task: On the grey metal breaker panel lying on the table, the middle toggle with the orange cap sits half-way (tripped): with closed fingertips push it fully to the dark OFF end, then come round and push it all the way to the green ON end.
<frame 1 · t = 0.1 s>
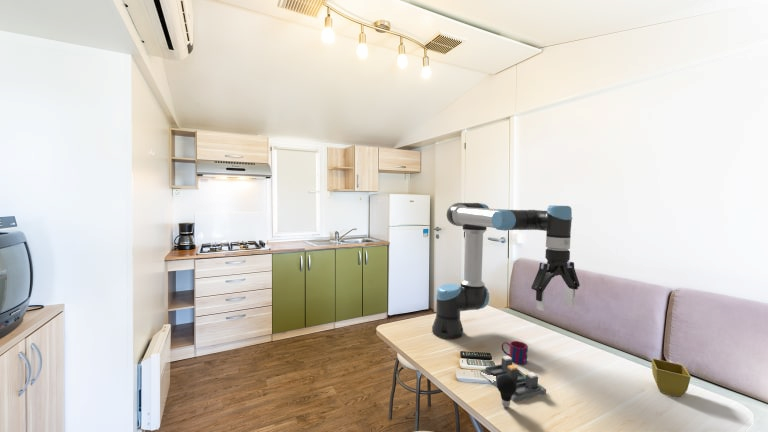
hand: (555, 308, 110), 28 cm above the table, fingers open, 13 cm apart
breaker 1: (506, 363, 117), point 4 cm above the table, slide at 6.0 cm
flower pot: (668, 392, 108), on the table
light bulb: (505, 407, 98), on the table
mug: (514, 359, 128), on the table
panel: (511, 383, 111), on the table
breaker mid: (512, 372, 111), point 4 cm above the table, slide at 3.0 cm
breaker 2: (531, 380, 106), point 4 cm above the table, slide at 6.0 cm
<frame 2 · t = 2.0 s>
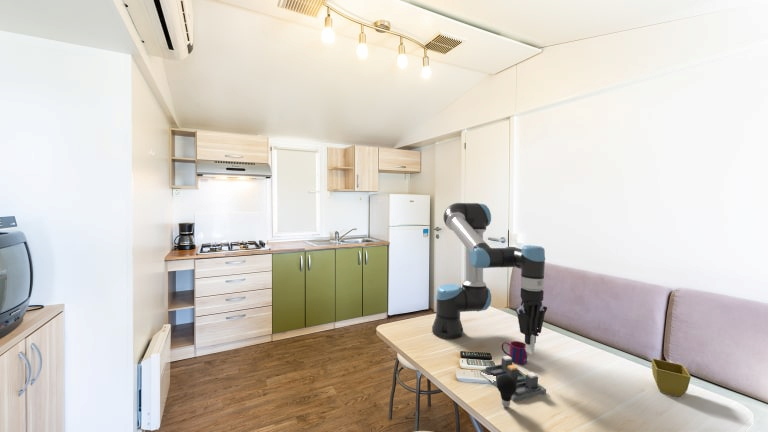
hand: (529, 352, 112), 10 cm above the table, fingers closed
nothing on the table moved.
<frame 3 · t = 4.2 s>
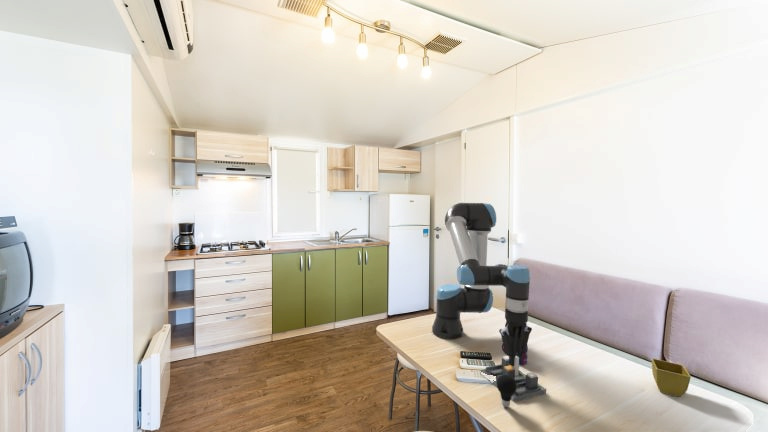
hand: (513, 373, 111), 3 cm above the table, fingers closed
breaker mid: (509, 373, 110), point 4 cm above the table, slide at 1.6 cm, touching gripper
everything else where it was.
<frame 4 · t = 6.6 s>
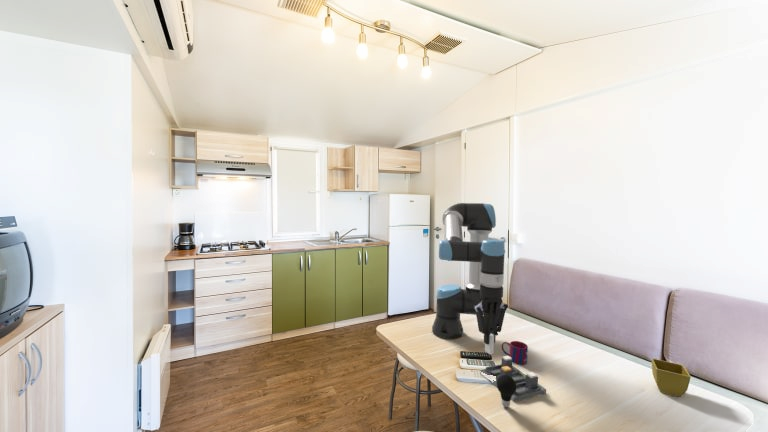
hand: (489, 352, 106), 13 cm above the table, fingers closed
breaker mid: (506, 373, 110), point 4 cm above the table, slide at 0.3 cm
everything else where it was.
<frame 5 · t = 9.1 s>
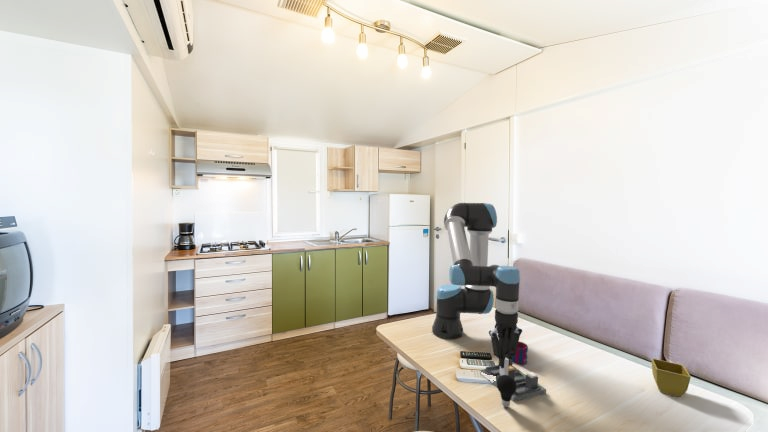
hand: (503, 375, 109), 3 cm above the table, fingers closed
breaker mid: (508, 373, 110), point 4 cm above the table, slide at 1.6 cm, touching gripper
everything else where it was.
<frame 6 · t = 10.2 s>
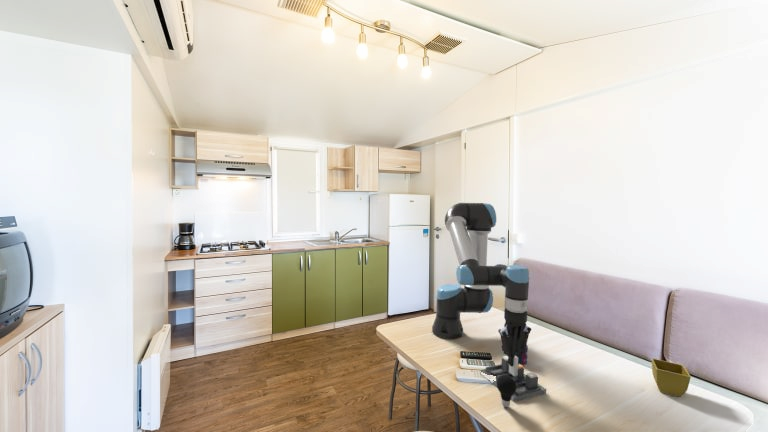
hand: (513, 373, 111), 3 cm above the table, fingers closed
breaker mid: (518, 371, 111), point 4 cm above the table, slide at 5.7 cm, touching gripper
everything else where it was.
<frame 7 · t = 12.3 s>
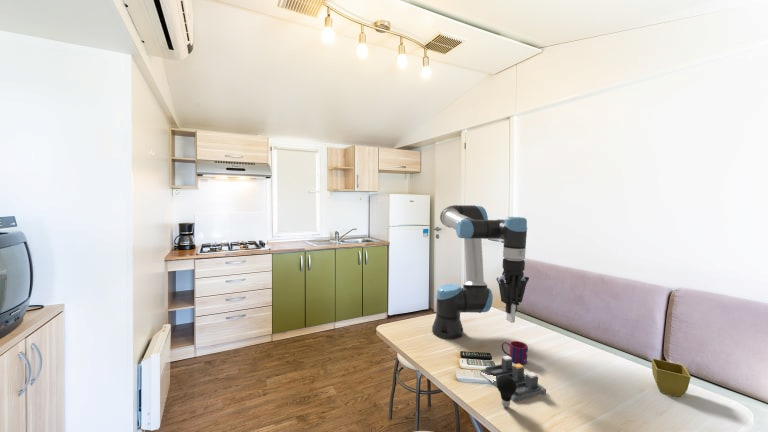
hand: (510, 321, 115), 21 cm above the table, fingers closed
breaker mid: (518, 371, 111), point 4 cm above the table, slide at 5.8 cm
everything else where it was.
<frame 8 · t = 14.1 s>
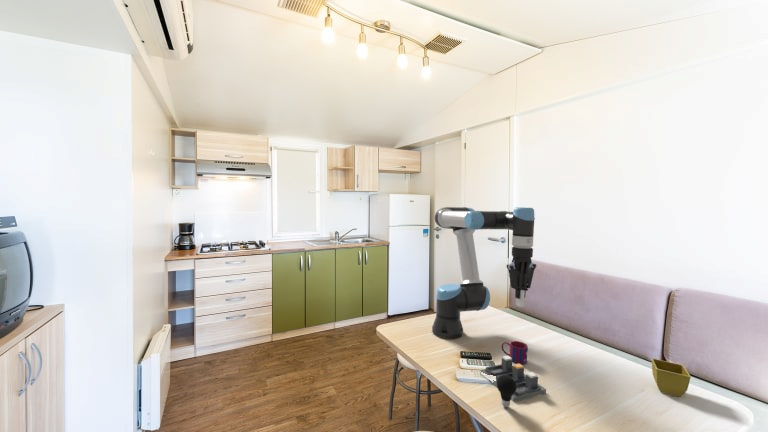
hand: (519, 306, 121), 24 cm above the table, fingers closed
nothing on the table moved.
at the end: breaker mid slide at 5.8 cm; breaker 1 slide at 6.0 cm; breaker 2 slide at 6.0 cm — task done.
